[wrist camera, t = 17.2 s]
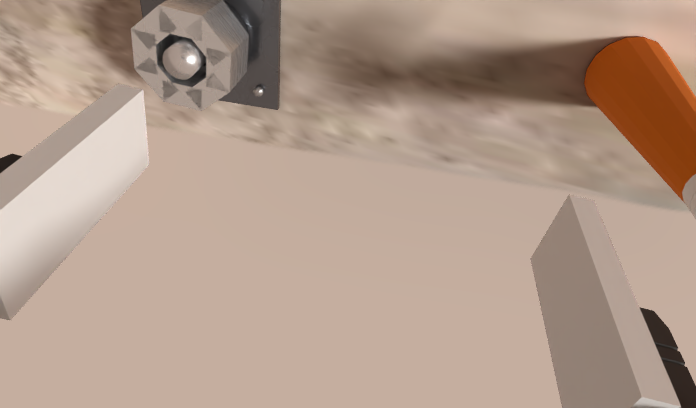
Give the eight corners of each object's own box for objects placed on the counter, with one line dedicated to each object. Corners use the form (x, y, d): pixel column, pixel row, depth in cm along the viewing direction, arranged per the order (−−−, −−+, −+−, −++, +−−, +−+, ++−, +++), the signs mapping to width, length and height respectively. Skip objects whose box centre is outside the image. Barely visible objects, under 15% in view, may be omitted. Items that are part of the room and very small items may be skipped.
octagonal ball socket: (160, 74, 50) (136, 94, 46) (155, -17, 44) (127, -3, 41) (245, 95, 50) (228, 117, 46) (250, 6, 44) (232, 23, 40)
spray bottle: (705, -2, 41) (980, 164, 20) (645, 113, 47) (804, 328, 27) (620, -14, 41) (801, 136, 20) (571, 102, 48) (672, 304, 27)
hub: (156, 87, 54) (118, 120, 48) (135, -52, 45) (85, -34, 39) (279, 107, 53) (257, 144, 47) (281, -31, 45) (254, -9, 38)
